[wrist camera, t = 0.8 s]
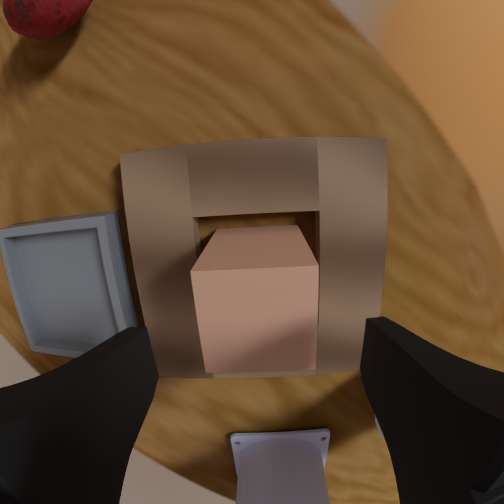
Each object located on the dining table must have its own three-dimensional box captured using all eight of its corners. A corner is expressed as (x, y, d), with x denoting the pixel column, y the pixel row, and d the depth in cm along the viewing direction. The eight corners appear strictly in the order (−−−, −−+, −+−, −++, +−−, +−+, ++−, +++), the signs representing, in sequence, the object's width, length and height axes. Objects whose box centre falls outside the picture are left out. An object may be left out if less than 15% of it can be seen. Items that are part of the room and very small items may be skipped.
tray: (144, 349, 20) (136, 363, 18) (43, 340, 21) (31, 351, 19) (117, 210, 18) (104, 215, 16) (12, 224, 18) (-3, 230, 16)
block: (298, 298, 19) (315, 368, 12) (224, 301, 19) (206, 372, 12) (297, 224, 18) (318, 265, 11) (217, 228, 18) (190, 271, 11)
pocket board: (365, 355, 20) (371, 368, 18) (164, 363, 21) (158, 376, 19) (376, 139, 16) (386, 138, 14) (130, 154, 17) (119, 154, 15)
